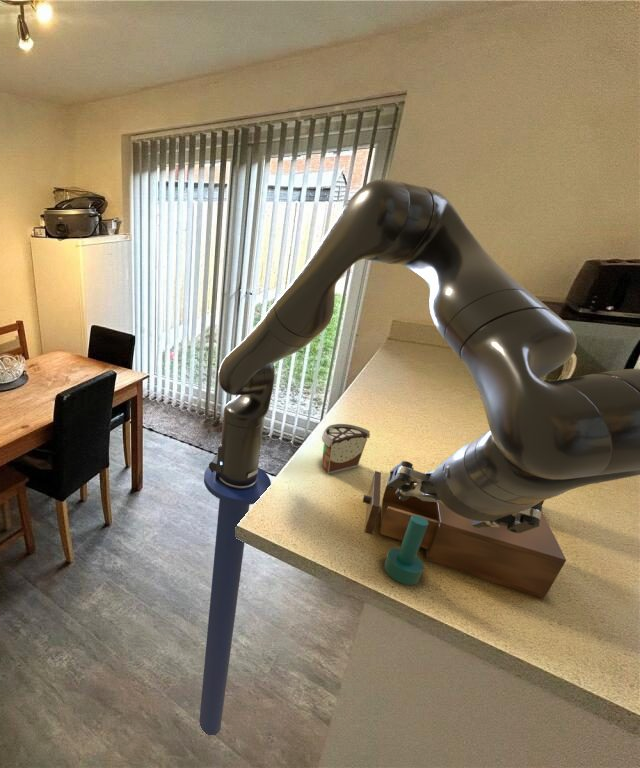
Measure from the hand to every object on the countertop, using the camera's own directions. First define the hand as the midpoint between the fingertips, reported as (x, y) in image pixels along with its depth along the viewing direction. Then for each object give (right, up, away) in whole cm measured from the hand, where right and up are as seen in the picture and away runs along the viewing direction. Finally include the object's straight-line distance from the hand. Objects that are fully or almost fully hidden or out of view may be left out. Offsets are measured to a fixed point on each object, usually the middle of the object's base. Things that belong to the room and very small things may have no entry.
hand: (437, 506), depth 56 cm
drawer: (+12, -11, +23) cm, 28 cm away
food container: (+9, -3, +45) cm, 46 cm away
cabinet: (+21, -14, +18) cm, 31 cm away
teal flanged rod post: (+5, -16, +14) cm, 22 cm away
